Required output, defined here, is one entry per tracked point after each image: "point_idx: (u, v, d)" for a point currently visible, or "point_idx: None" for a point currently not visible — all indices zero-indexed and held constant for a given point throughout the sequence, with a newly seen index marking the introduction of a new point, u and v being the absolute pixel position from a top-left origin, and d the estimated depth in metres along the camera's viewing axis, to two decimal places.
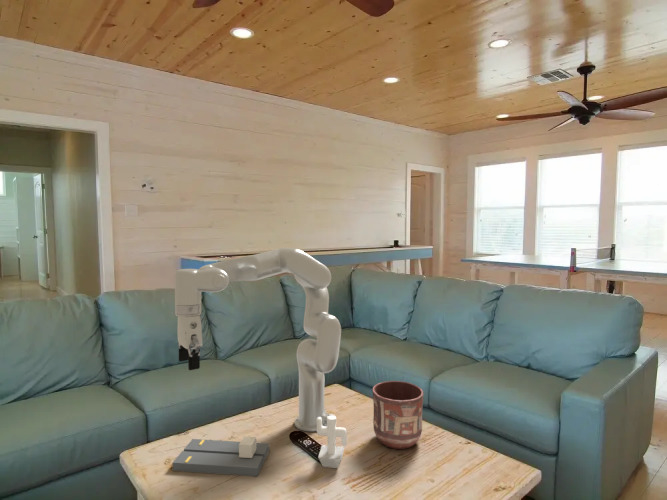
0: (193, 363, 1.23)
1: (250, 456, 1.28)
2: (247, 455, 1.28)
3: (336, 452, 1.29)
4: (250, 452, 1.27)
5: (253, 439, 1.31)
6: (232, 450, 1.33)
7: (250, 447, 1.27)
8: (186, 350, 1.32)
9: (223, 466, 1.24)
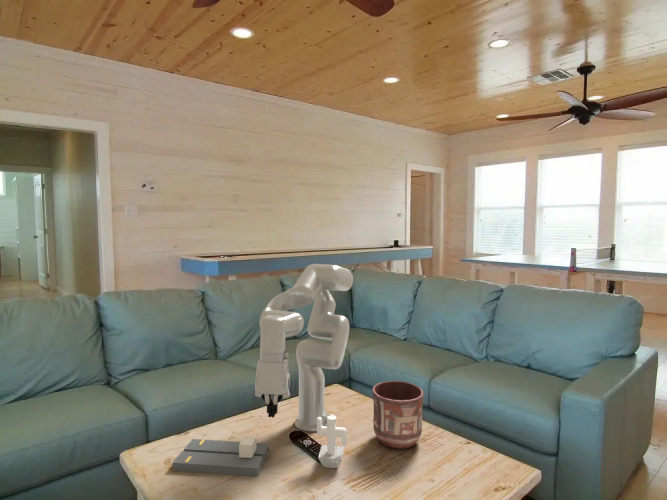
0: (276, 409, 1.27)
1: (250, 456, 1.28)
2: (247, 455, 1.28)
3: (336, 452, 1.29)
4: (250, 452, 1.27)
5: (253, 439, 1.31)
6: (232, 450, 1.33)
7: (250, 447, 1.27)
8: None
9: (223, 466, 1.24)
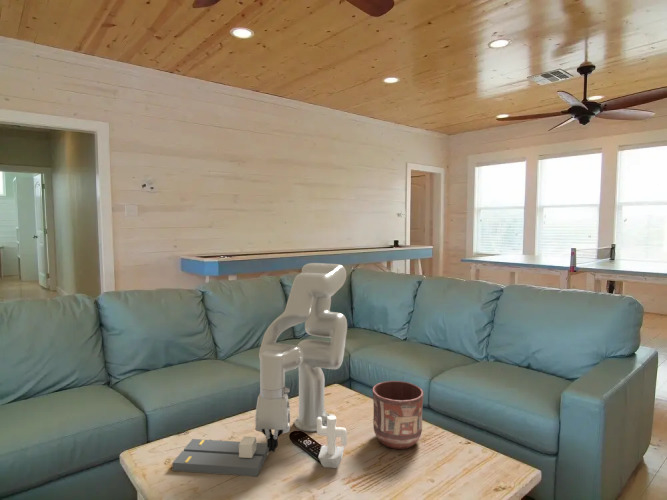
0: (277, 443, 1.29)
1: (250, 456, 1.28)
2: (247, 455, 1.28)
3: (336, 452, 1.29)
4: (250, 452, 1.27)
5: (253, 439, 1.31)
6: (232, 450, 1.33)
7: (250, 447, 1.27)
8: None
9: (223, 466, 1.24)
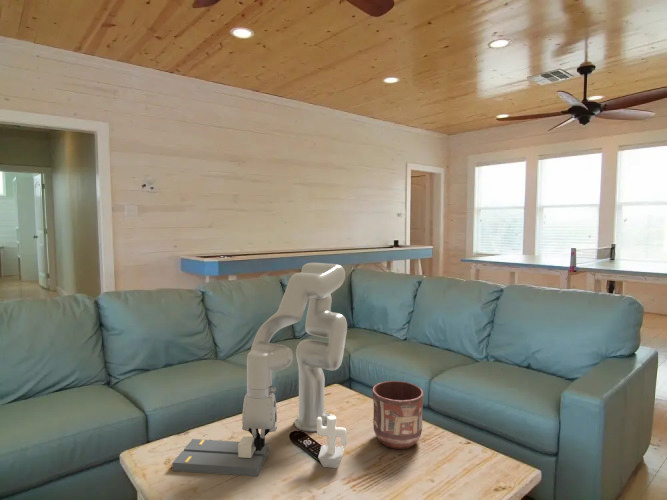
0: (263, 443, 1.29)
1: (249, 456, 1.28)
2: (246, 455, 1.28)
3: (336, 452, 1.29)
4: (249, 452, 1.27)
5: (252, 439, 1.31)
6: (232, 450, 1.33)
7: (249, 447, 1.27)
8: None
9: (223, 466, 1.24)
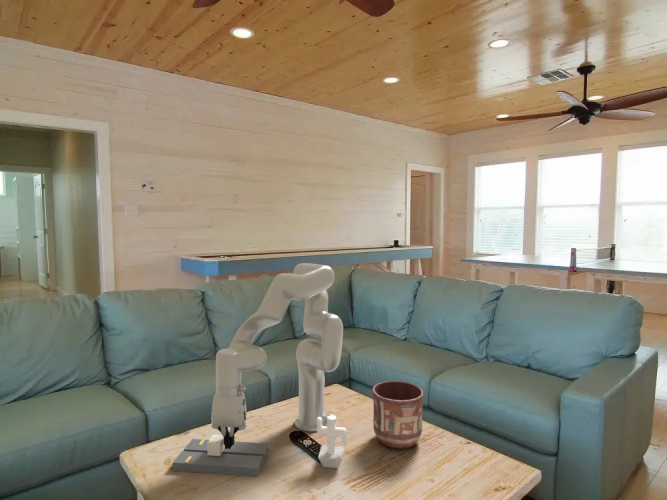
0: (233, 441, 1.30)
1: (218, 454, 1.28)
2: (215, 453, 1.29)
3: (336, 452, 1.29)
4: (218, 450, 1.28)
5: (222, 437, 1.32)
6: (232, 450, 1.33)
7: (218, 445, 1.28)
8: None
9: (223, 466, 1.24)
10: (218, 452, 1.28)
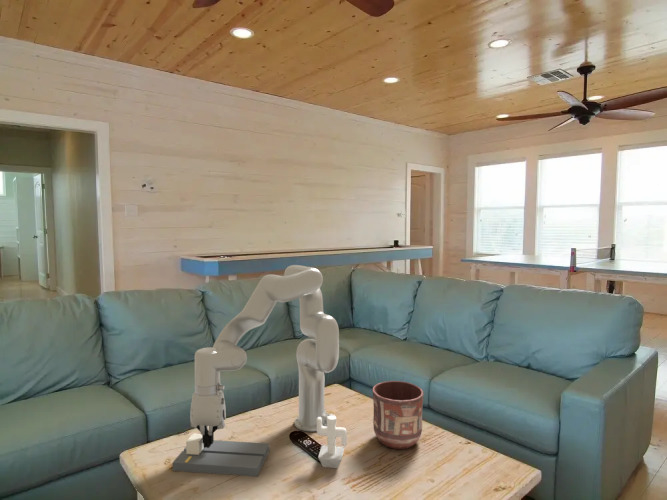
0: (212, 440, 1.31)
1: (197, 453, 1.29)
2: (194, 452, 1.29)
3: (336, 452, 1.29)
4: (197, 449, 1.29)
5: (201, 436, 1.32)
6: (232, 450, 1.33)
7: (197, 444, 1.29)
8: None
9: (223, 466, 1.24)
10: (197, 451, 1.29)
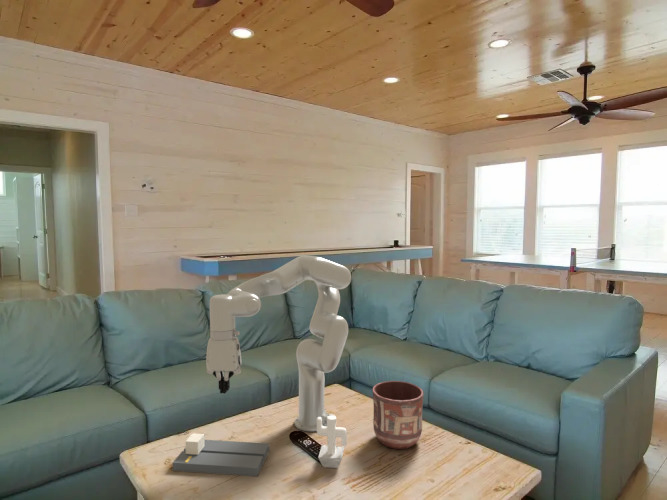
0: (228, 385, 1.31)
1: (196, 453, 1.29)
2: (193, 452, 1.29)
3: (336, 452, 1.29)
4: (196, 449, 1.29)
5: (201, 436, 1.32)
6: (232, 450, 1.33)
7: (196, 444, 1.29)
8: None
9: (223, 466, 1.24)
10: (196, 451, 1.29)
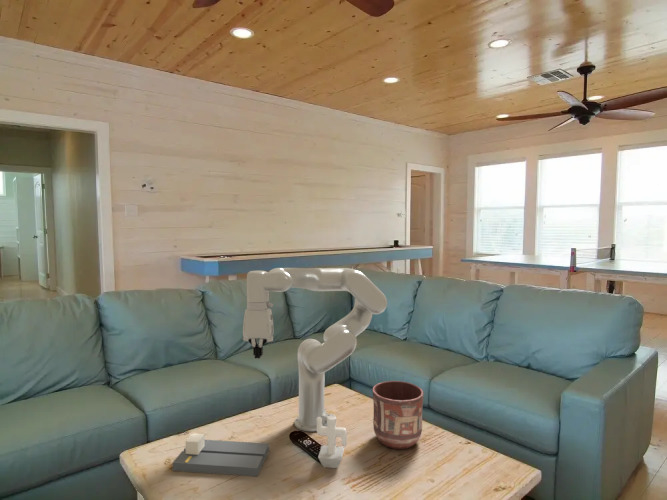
0: (261, 352, 1.47)
1: (196, 453, 1.29)
2: (193, 452, 1.29)
3: (336, 452, 1.29)
4: (196, 449, 1.29)
5: (201, 436, 1.32)
6: (232, 450, 1.33)
7: (196, 444, 1.29)
8: None
9: (223, 466, 1.24)
10: (196, 451, 1.29)
